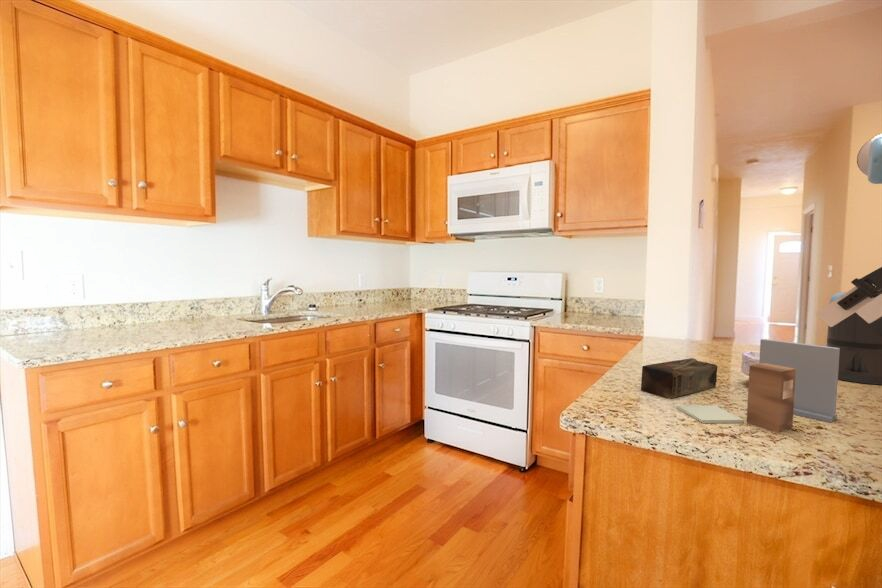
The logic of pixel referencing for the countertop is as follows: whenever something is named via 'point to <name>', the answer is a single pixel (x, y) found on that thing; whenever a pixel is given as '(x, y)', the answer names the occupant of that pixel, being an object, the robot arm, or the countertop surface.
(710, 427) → the countertop surface
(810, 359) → the slate panel
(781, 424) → the brown tall rectangular block
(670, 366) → the beverage carton
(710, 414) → the sage tile
